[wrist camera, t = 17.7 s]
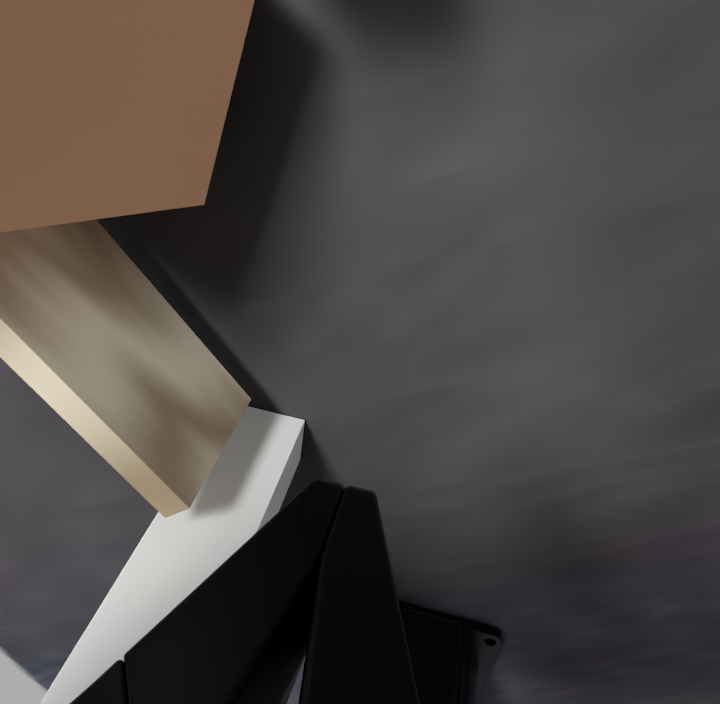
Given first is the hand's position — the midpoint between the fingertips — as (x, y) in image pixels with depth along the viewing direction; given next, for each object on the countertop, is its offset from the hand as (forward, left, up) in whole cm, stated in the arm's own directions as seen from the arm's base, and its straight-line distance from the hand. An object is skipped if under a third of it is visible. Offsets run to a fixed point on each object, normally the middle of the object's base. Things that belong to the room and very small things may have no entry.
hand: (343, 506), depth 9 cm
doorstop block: (+3, +7, -10) cm, 13 cm away
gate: (-2, +10, -10) cm, 15 cm away
